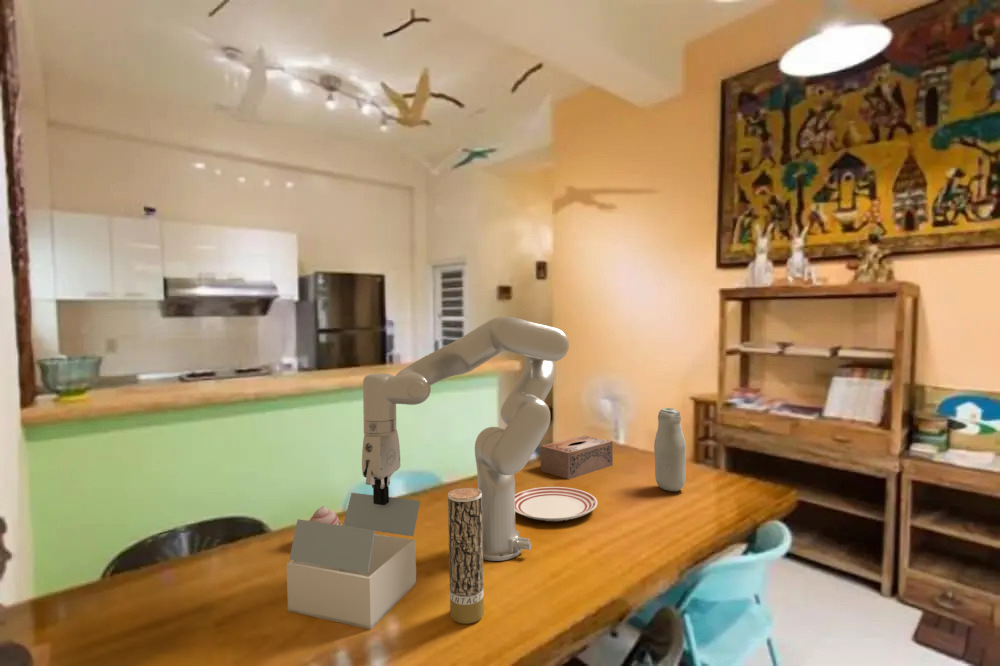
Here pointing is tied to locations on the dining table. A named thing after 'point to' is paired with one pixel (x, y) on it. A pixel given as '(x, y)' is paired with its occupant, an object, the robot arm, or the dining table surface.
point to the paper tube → (466, 555)
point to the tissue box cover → (576, 456)
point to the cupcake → (325, 516)
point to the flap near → (332, 545)
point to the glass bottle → (670, 451)
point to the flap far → (382, 514)
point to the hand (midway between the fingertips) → (381, 503)
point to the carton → (354, 585)
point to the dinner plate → (554, 503)
